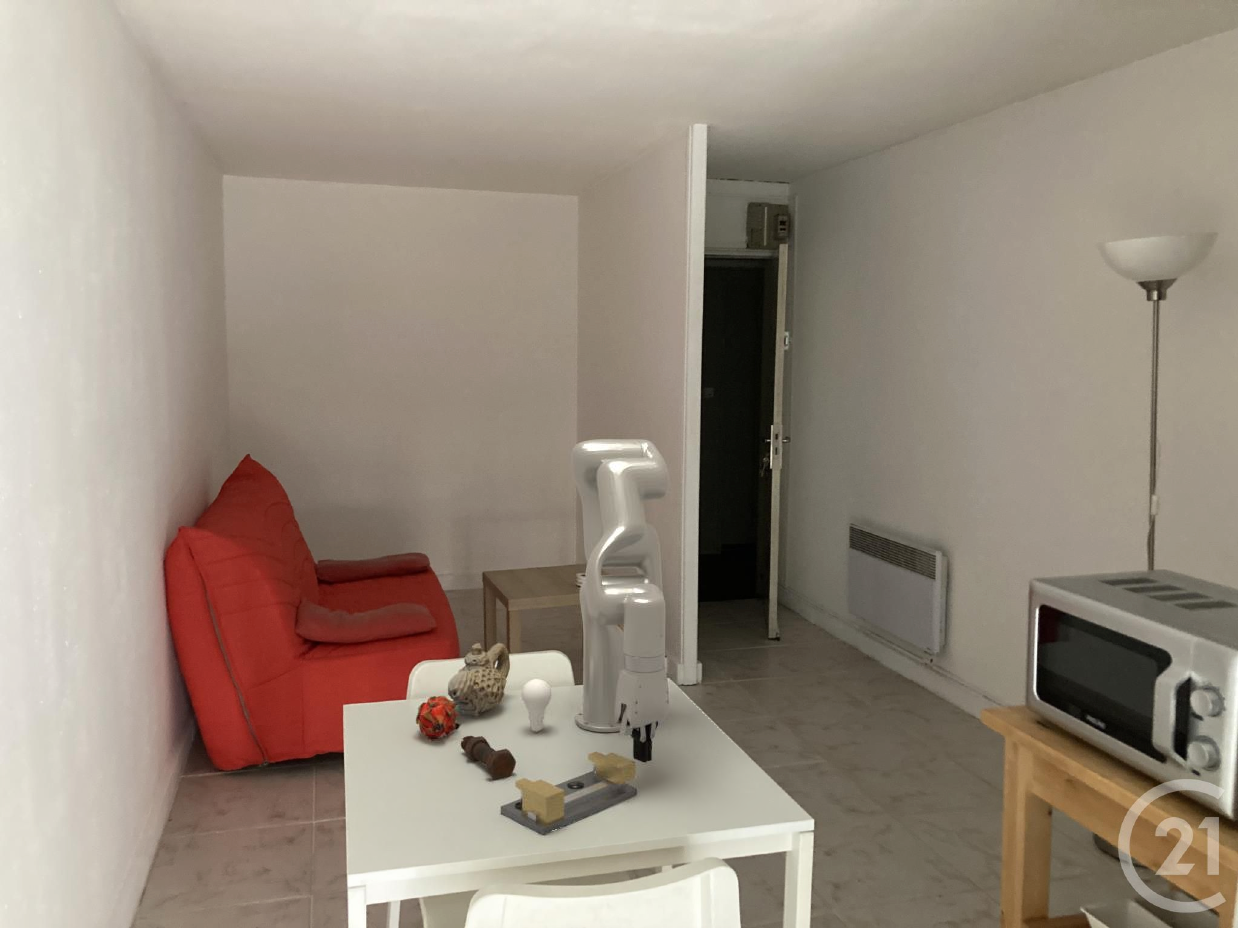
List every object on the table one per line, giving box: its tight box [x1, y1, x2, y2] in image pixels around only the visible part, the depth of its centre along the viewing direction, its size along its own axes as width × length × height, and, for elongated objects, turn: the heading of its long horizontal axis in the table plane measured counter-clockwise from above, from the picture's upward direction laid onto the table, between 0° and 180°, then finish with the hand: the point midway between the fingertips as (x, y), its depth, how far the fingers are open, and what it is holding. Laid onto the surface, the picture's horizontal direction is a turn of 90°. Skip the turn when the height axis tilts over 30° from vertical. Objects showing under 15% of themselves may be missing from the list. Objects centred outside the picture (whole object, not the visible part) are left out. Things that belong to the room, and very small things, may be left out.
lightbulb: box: [521, 678, 552, 733], centre depth 209 cm, size 6×6×11 cm
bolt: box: [460, 735, 517, 781], centre depth 193 cm, size 6×5×15 cm
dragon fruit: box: [415, 695, 462, 742], centre depth 207 cm, size 8×8×12 cm
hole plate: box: [500, 770, 638, 836], centre depth 176 cm, size 22×11×6 cm, turn 135°
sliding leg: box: [587, 751, 637, 785], centre depth 182 cm, size 4×9×4 cm, turn 45°
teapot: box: [447, 642, 511, 717], centre depth 221 cm, size 21×12×15 cm, turn 155°
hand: (642, 759), depth 186 cm, fingers closed
